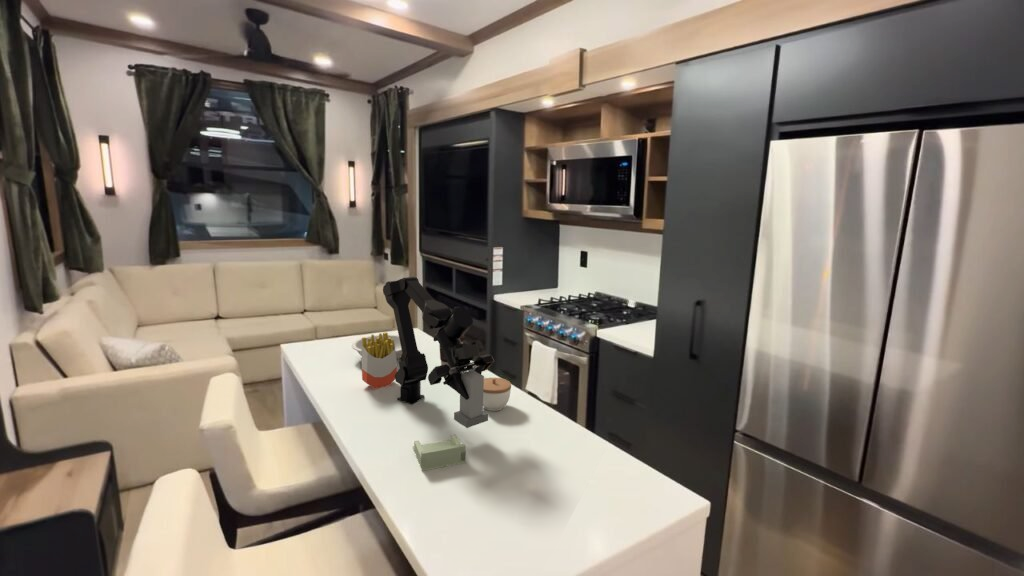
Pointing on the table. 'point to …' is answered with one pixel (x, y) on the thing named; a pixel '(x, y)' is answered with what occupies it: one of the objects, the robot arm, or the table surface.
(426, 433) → the table surface
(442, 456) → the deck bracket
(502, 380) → the lidded jar
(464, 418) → the grey pillar on base
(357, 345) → the soup bowl
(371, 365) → the french fries container
